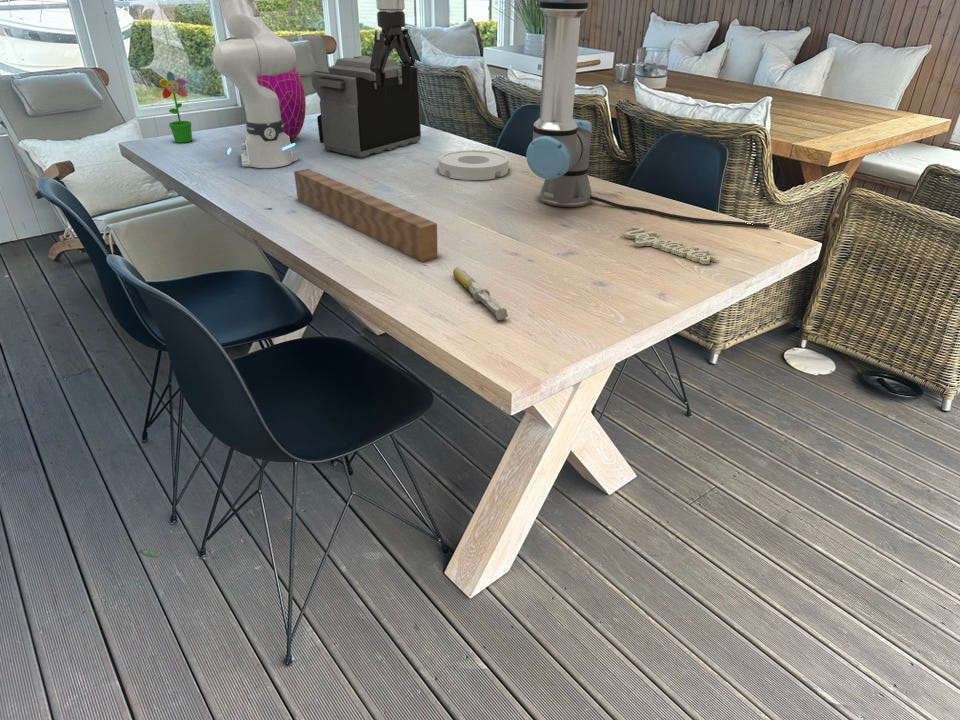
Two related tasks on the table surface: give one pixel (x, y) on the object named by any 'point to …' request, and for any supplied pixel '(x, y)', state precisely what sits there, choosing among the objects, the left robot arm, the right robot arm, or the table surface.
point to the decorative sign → (669, 245)
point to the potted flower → (178, 128)
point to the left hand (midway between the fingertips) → (274, 16)
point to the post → (368, 214)
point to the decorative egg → (288, 99)
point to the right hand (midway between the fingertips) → (394, 93)
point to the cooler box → (366, 108)
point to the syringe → (479, 293)
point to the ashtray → (473, 164)
